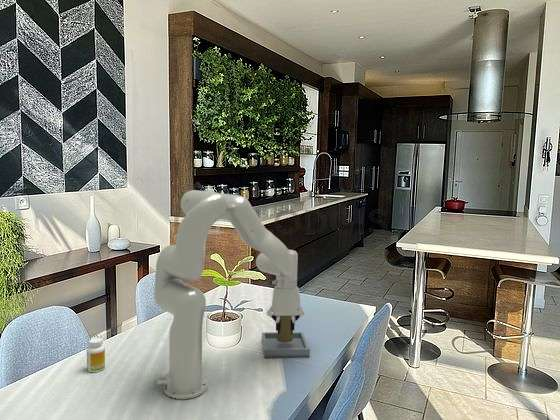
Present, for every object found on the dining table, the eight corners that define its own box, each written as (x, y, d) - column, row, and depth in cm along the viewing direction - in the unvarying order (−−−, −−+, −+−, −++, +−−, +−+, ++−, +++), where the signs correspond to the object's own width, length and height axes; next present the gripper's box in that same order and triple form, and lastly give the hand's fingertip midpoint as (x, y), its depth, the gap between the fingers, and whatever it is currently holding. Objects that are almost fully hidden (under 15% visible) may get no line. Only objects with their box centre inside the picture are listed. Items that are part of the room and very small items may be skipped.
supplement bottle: (108, 367, 145) (108, 338, 144) (95, 374, 140) (94, 344, 139) (96, 363, 147) (96, 335, 146) (83, 370, 143) (82, 341, 142)
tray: (264, 358, 155) (264, 349, 155) (261, 339, 171) (261, 332, 171) (309, 357, 157) (309, 349, 157) (302, 339, 173) (302, 332, 173)
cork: (291, 343, 160) (292, 313, 159) (274, 341, 161) (275, 312, 160) (294, 336, 166) (295, 308, 165) (278, 335, 167) (279, 306, 166)
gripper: (264, 286, 157) (262, 336, 159) (310, 286, 159) (309, 336, 161) (262, 281, 164) (261, 328, 166) (307, 281, 166) (305, 328, 168)
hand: (284, 331), depth 164 cm, fingers closed on cork, 4 cm apart
